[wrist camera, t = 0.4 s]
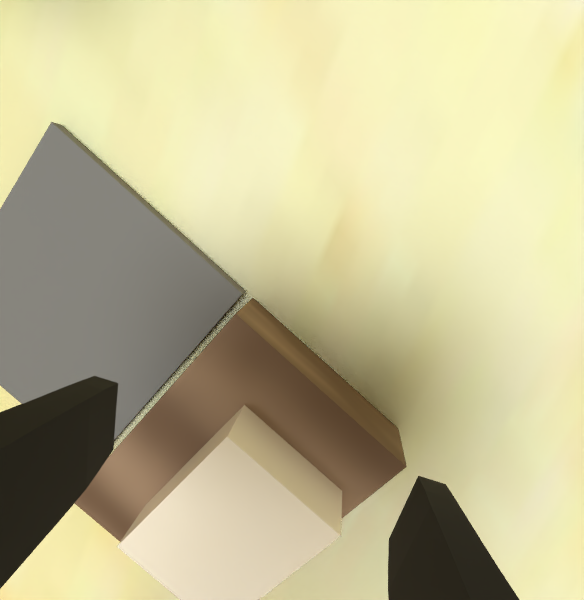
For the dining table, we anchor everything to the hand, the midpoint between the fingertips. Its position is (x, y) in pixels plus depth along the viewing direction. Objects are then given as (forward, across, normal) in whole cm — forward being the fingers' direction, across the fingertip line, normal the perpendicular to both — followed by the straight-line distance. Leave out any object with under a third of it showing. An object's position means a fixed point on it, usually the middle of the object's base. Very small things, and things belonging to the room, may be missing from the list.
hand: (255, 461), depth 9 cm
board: (+10, +2, +9) cm, 13 cm away
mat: (+10, +12, +4) cm, 16 cm away
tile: (+5, +1, +9) cm, 10 cm away
